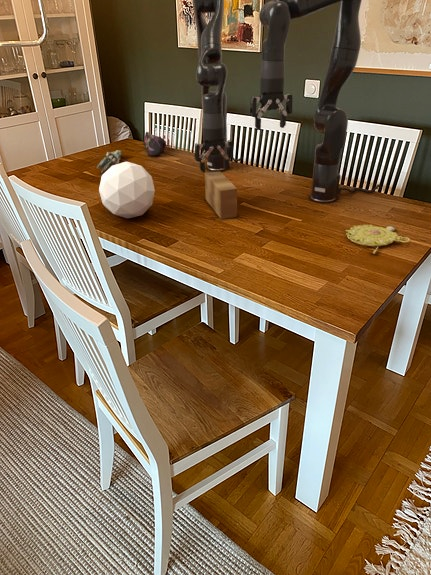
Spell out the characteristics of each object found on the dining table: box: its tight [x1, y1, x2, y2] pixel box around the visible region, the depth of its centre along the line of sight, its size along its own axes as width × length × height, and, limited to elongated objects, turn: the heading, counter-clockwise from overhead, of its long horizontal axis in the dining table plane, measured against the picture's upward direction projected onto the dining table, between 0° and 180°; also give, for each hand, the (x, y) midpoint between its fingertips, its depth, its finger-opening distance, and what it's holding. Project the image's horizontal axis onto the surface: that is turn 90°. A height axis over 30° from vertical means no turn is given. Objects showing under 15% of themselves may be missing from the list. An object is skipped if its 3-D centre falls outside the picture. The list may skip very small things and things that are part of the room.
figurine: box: [96, 150, 123, 174], centre depth 213 cm, size 7×8×30 cm
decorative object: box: [345, 223, 411, 255], centre depth 140 cm, size 21×2×20 cm
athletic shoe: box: [143, 131, 170, 157], centre depth 230 cm, size 11×22×12 cm
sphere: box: [98, 160, 156, 220], centre depth 157 cm, size 19×20×20 cm
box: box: [204, 171, 238, 220], centre depth 163 cm, size 20×6×11 cm, turn 17°
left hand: (214, 170), depth 165 cm, fingers open, 8 cm apart
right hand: (270, 128), depth 150 cm, fingers open, 8 cm apart
